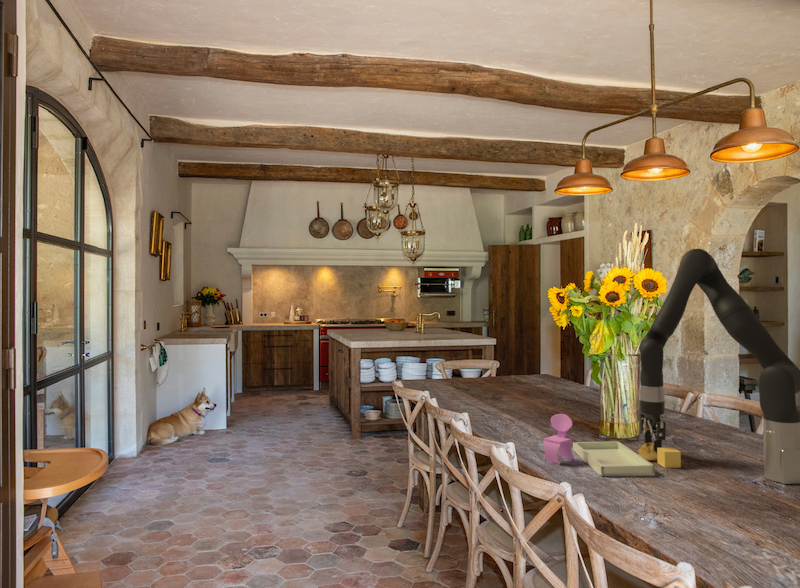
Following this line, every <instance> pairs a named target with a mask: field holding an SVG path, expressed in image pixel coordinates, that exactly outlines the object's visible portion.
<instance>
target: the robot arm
mask: <svg viewBox="0 0 800 588" xmlns="http://www.w3.org/2000/svg"><path fill="white" fill-rule="evenodd" d="M696 285H698V287H699V289H701V290H702V291H703V293H704V294H705V295H706V297H707V300H708V301H709V303H710V305H711V308H712V309H713V312H714V314H715V316H716V318H717V319H718V320H719V322H720V323H721V325H722V326H723V328H724V329H725V331H726V332H727V333H728V335H730V337H731V338H732V339H734V340H735V342H736V343H738V344H739V345H741V346H742V347H743V348H744V349H746V351H748V352H749V353H750V354H751V355H752V356H753V357H754V358H755V359H756V360H757V362H758V363H759V364H760V366H761V367H762V370H761V372H760V374H759V377H758V393H759V394H758V395H759V406H760V409H761V412H762V419H763V420H762V423H763V424H762V427H763V428H762V430H763V431H762V432H763V435H762V436H763V438H762V439H763V470H764V471H763V474H764V477H765V478H766V479H767V480H769V481H773V482H777V483H780V484H783V485H786V484H787V485H790V484H798V485H799V484H800V410H799V409H798V407H797V402H796V401H797V399H796V395H797V394H798V393H800V369H799V367H798V366H797V365H796V364H795V363H794V362H793V361H792V360H791V358H790V357H789V356H787V354H786V353H785V352H784V351H783V350H782V348H780V347H779V345H778V344H777V342H776V341H775V340H774V339H773V337H772V336H771V334H770V333H769V331H768V330H767V328H766V327H765V325H763V323H762V322H761V320H760V319H759V317H758V316H757V314H756V313H755V312H754V311H753V310H752V308H751V306H750V305H749V304H748V303H747V302H746V301H745V299H744V298H743V297H742V296H741V295H740V294H739V293H738V292H737V291H736V290H735V289H734V288H733V287H732V285H730V283H729V282H728V281H727V279H726V278H725V276H724V274H723V273H722V270H720V267H719V266H718V264H717V262H716V260H715V258H714V256H712V255H711V254H710V253H709V252H708V251H706V250H705V249H704V248H703V249H702V248H693V249H689V250H688V251H686V252H685V253H684V254H683V256H682V257H681V260H680V263H679V265H678V268H677V271H676V274H675V277H674V280H673V282H672V285H671V287H670V289H669V291H668V293H667V296H666V298H665V300H664V301H663V304H662V305H661V307H660V309H659V311H658V313H657V315H656V316H655V318H654V320H653V322H652V324H651V327H650V328H649V330H648V331H647V332H646V334H645V336H644V338H643V339H642V340H641V342H640V344H639V349H638V350H639V354H640V368H641V369H640V373H639V374H640V376H639V380H640V383H639V384H640V385H639V387H640V388H639V412H640V413H639V419H640V420H639V421H640V423H639V424H640V431H641V432H642V433H643V435H644V436H643V437H644V444H645V443H654V451H655V452H657V448H663V447H662V446H663V445H662V441H666V431H667V430H666V428H667V427H666V422H665V421H662V419H661V415H665V413H666V412H665V403H666V402H665V389H664V372H663V368H664V347H665V346H666V344H667V342H668V340H669V339H670V337H671V336H672V335H674V333H675V331H676V329H677V327H678V326H679V324H680V322H681V320H682V318H683V315H684V313H685V311H686V307H687V306H688V305H687V304H688V301H689V298H690V296H691V294H692V292H693V289H694V288H695V286H696ZM652 437H653V438H652Z"/></svg>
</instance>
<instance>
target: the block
mask: <svg viewBox="0 0 800 588" xmlns="http://www.w3.org/2000/svg"><path fill="white" fill-rule="evenodd" d="M681 452H682V451H680V450H678V449H677V448H675V447H662V448H657V457H658V461H657V464H658V465H660V466H661V467H663V468H664V469H668V468H669V469H673V468H676V469H677V468H682V463H681V462H682V461H681V460H682V458H681V457H682V456H681V455H682V454H681Z"/></svg>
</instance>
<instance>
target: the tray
mask: <svg viewBox="0 0 800 588" xmlns="http://www.w3.org/2000/svg"><path fill="white" fill-rule="evenodd" d="M573 450H574V451H575V452H576V453H577V454H578V455H579V456H580V457H581V458H582V459H581V458H580V457H579V456H578V455H577V454H576V453H575V452H574V451H573ZM572 451H573V452H574V453H575V454H576V455H577V456H578V457H579V458H580V459H581V460H582V461H583V462H585V463H586V462H587V463H588V464H589V465H590V466H591V467H592V468H591V467H590V466H589V465H588V464H587V463H586V464H587V465H588V466H589V467H590V468H591V469H592V470H594V471H595V472H596V473H597V474H598V475H599V474H600V475H601V476H608V477H651V476H652V477H653V476H656V466H655V465H654V464H653V463H652V462H651V461H647V460H646V459H644V458H643V457H641V456H640V455H639V454H638V452H635V451H633V449H631V448H629V447H627V446H626V445H625V444H623V443H622V442H620V441H617V440H616V441H614V440H613V441H572ZM600 475H599V476H600ZM601 476H600V477H601Z"/></svg>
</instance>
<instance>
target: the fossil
mask: <svg viewBox="0 0 800 588" xmlns="http://www.w3.org/2000/svg"><path fill="white" fill-rule="evenodd" d="M636 453H637V454H638V455H640V456H641V457H643V458H644V459H646V460H647V461H649V462H658V457H657V452H655V451H654V442H652V443H645V442H644V443H643V445H641V447H639V449H638V450H637V451H636Z"/></svg>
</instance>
